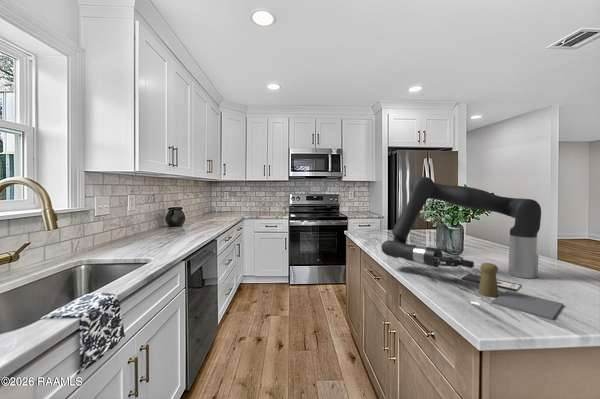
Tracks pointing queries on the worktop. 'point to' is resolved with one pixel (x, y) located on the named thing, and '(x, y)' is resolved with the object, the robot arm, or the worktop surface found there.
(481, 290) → the cork
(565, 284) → the worktop surface
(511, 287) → the chocolate bar
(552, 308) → the mat
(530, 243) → the robot arm
